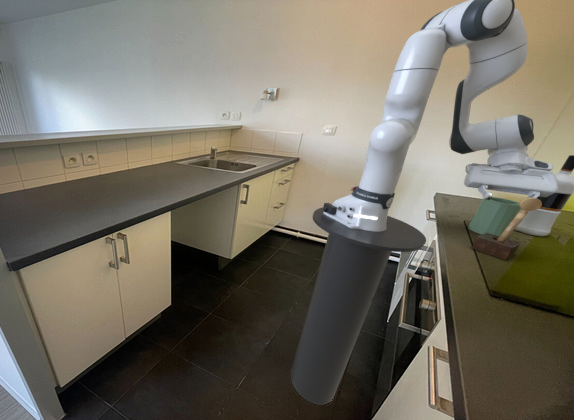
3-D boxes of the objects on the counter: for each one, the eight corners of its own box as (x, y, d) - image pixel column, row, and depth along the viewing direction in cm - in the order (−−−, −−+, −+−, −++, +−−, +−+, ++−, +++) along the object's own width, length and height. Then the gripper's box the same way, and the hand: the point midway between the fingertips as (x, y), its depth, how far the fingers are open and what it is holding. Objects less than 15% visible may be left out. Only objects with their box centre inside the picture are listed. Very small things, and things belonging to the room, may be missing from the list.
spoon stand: (471, 248, 82) (477, 236, 80) (480, 243, 85) (486, 232, 83) (505, 260, 75) (512, 247, 74) (513, 255, 79) (521, 242, 77)
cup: (464, 228, 96) (479, 198, 91) (473, 225, 100) (489, 195, 95) (498, 239, 89) (517, 206, 84) (507, 235, 93) (526, 203, 88)
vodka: (508, 229, 97) (553, 154, 86) (511, 224, 102) (553, 152, 91) (546, 239, 90) (600, 158, 79) (547, 233, 95) (598, 156, 84)
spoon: (484, 250, 80) (527, 196, 72) (482, 248, 82) (524, 195, 73) (501, 255, 79) (546, 201, 70) (498, 252, 80) (543, 199, 71)
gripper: (471, 157, 85) (470, 190, 81) (560, 165, 76) (564, 203, 72) (460, 167, 90) (459, 199, 86) (543, 176, 81) (545, 212, 77)
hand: (507, 201), depth 79 cm, fingers open, 8 cm apart
